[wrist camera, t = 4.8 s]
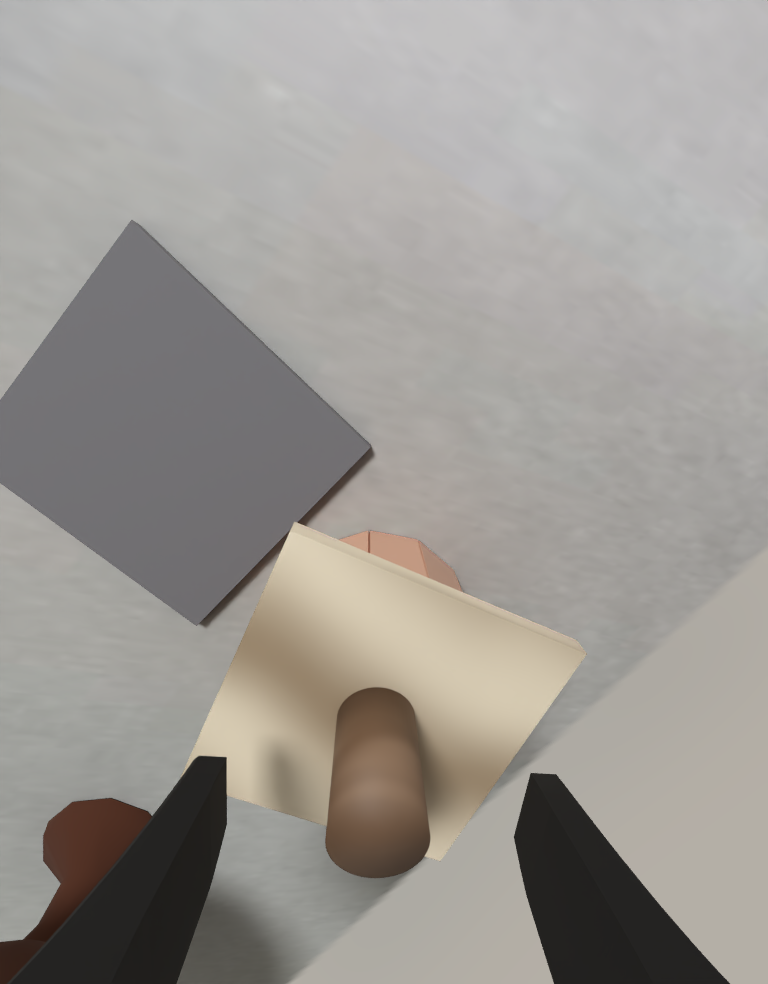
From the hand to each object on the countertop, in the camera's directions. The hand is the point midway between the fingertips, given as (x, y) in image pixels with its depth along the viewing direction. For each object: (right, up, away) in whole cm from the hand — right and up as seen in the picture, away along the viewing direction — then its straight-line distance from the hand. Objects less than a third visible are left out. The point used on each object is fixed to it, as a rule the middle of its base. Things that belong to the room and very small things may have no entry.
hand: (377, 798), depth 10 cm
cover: (0, +1, +3) cm, 3 cm away
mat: (-7, +9, +5) cm, 12 cm away
